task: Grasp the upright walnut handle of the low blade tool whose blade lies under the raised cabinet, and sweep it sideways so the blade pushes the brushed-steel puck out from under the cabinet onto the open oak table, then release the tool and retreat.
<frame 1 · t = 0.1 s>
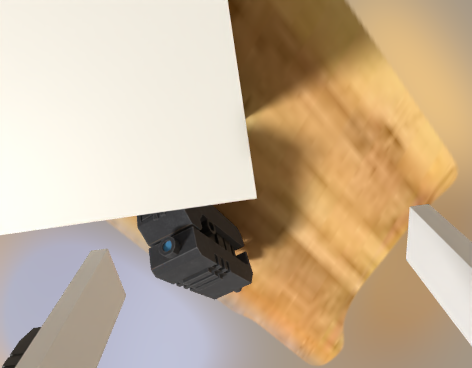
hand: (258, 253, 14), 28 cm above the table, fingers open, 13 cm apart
tool: (205, 211, 46), on the table
cabinet: (155, 73, 38), on the table
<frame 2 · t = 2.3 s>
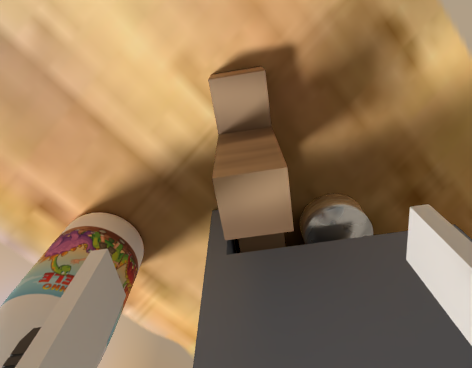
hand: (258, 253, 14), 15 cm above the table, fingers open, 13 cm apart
cabinet: (312, 257, 33), on the table
milk bottle: (107, 242, 33), on the table
puck: (330, 220, 31), on the table
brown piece: (255, 194, 30), on the table
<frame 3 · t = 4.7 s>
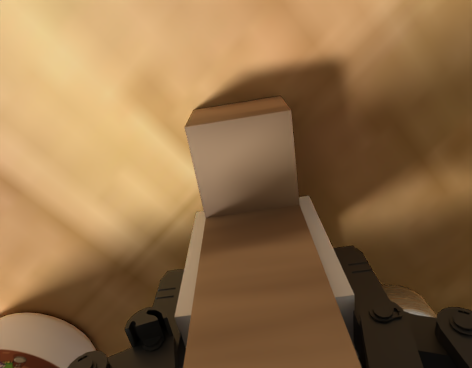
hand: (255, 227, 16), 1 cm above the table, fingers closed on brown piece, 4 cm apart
milk bottle: (44, 348, 22), on the table
puck: (380, 322, 21), on the table
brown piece: (265, 287, 19), on the table, touching gripper
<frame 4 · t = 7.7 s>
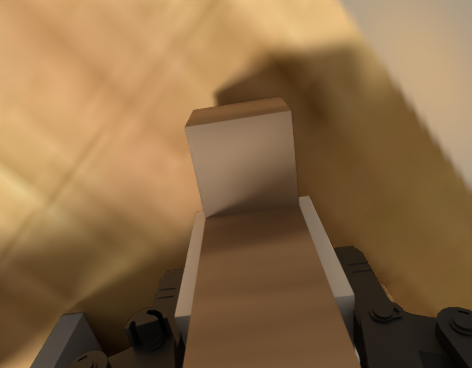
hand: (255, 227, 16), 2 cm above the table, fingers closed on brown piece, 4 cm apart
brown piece: (265, 288, 19), point 1 cm above the table, touching gripper
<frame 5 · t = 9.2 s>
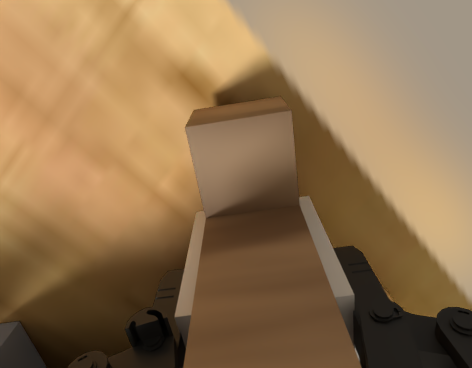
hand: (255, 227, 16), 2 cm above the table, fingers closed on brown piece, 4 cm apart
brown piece: (265, 288, 19), point 1 cm above the table, touching gripper
when the fingers open (2 cm above the table, at t = 10.3 s): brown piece stays where it is, on the table.
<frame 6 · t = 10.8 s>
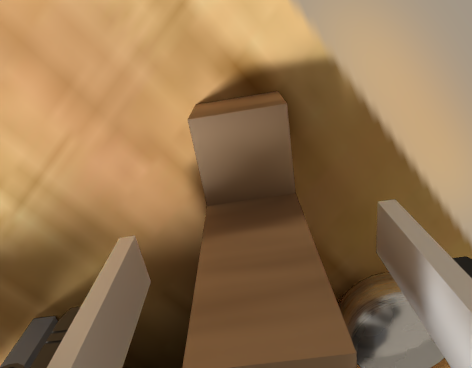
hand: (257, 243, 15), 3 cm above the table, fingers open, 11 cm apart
puck: (383, 306, 22), on the table
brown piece: (264, 276, 20), on the table
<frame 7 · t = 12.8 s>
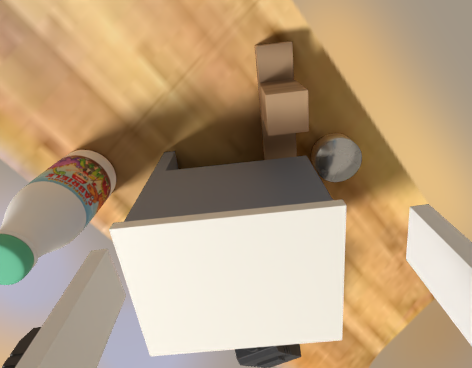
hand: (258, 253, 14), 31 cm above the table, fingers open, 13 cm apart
tool: (259, 289, 55), on the table
cabinet: (235, 191, 47), on the table
milk bottle: (90, 173, 46), on the table
puck: (332, 153, 45), on the table
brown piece: (277, 132, 44), on the table
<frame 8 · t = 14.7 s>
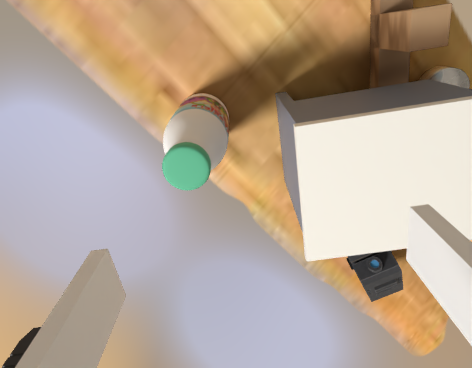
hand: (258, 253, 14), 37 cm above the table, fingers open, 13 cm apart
tool: (353, 231, 58), on the table
cabinet: (339, 130, 50), on the table
milk bottle: (203, 118, 49), on the table
puck: (435, 87, 47), on the table
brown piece: (384, 67, 46), on the table
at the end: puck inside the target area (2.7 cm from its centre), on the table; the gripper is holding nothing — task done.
